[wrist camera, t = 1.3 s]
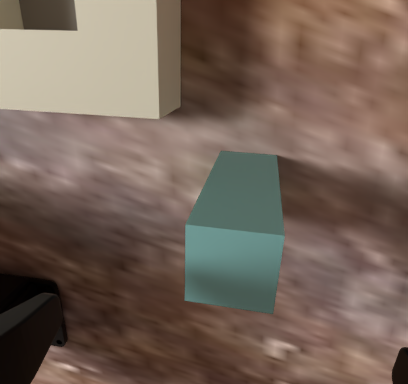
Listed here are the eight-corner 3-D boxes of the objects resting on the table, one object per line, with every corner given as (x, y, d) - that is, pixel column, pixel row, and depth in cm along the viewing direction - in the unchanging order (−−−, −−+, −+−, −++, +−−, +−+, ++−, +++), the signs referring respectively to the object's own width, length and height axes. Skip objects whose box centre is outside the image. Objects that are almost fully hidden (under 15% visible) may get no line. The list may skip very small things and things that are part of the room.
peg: (270, 206, 20) (272, 314, 11) (218, 200, 20) (185, 300, 12) (276, 155, 18) (284, 236, 10) (220, 150, 19) (185, 224, 11)
